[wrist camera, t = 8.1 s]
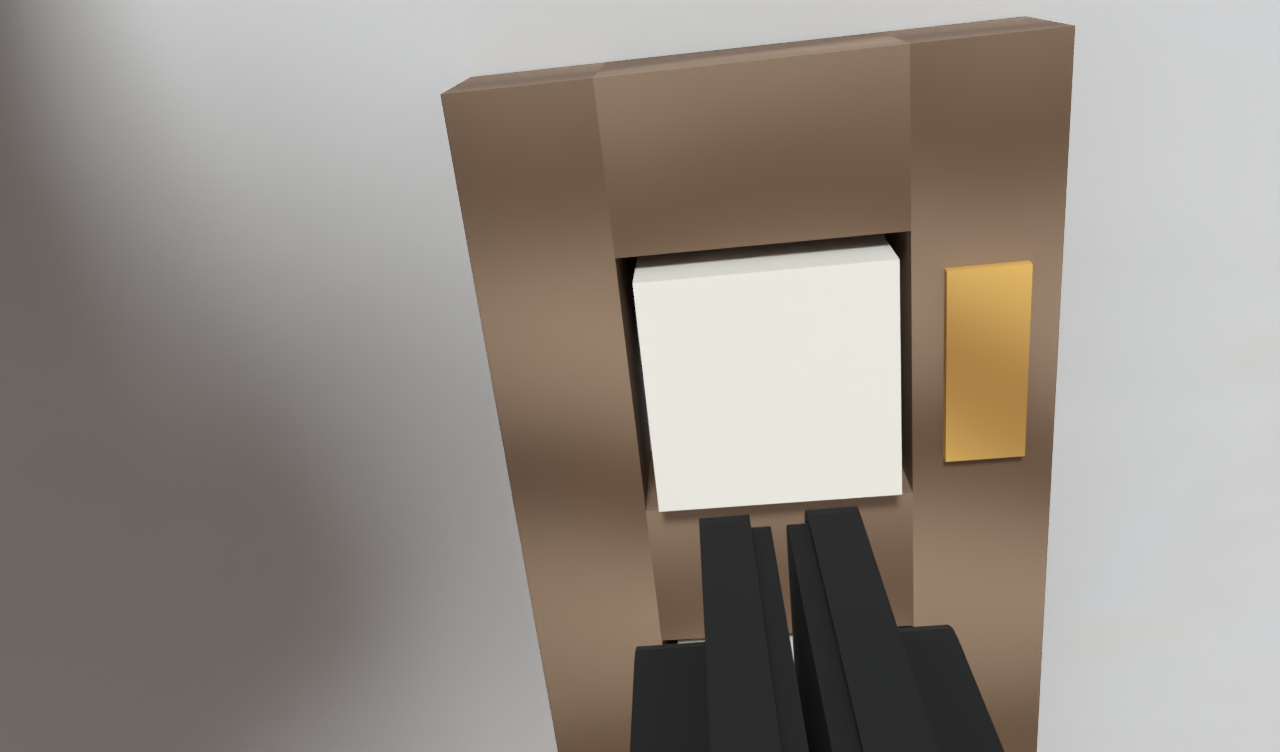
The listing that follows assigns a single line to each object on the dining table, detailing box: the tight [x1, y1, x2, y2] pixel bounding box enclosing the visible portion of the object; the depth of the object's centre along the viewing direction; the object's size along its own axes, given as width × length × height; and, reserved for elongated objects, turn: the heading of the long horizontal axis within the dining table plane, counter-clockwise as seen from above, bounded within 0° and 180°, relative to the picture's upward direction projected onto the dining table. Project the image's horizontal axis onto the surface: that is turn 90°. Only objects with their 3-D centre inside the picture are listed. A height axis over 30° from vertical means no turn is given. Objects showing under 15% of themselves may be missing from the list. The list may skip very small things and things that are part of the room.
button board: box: [441, 17, 1075, 752], centre depth 22 cm, size 27×10×3 cm, turn 6°
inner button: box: [632, 234, 902, 512], centre depth 19 cm, size 4×4×2 cm
